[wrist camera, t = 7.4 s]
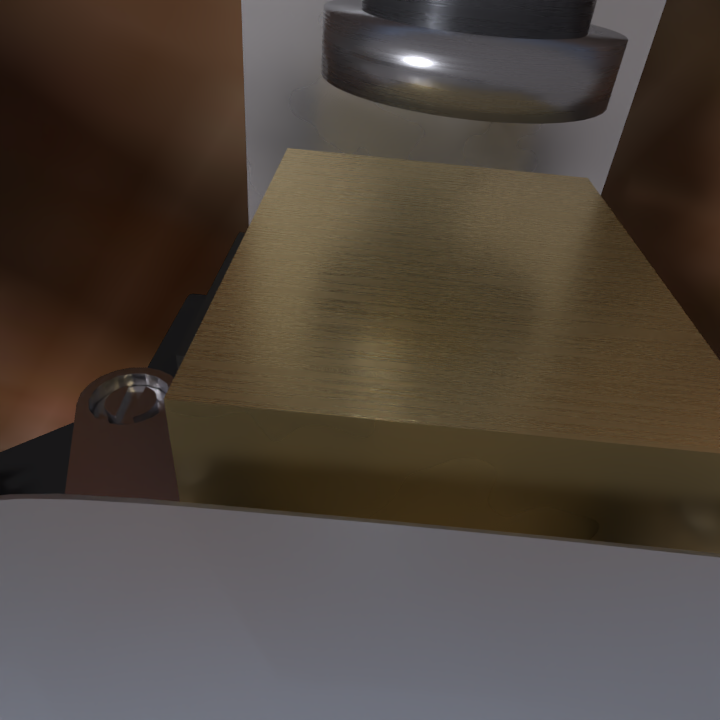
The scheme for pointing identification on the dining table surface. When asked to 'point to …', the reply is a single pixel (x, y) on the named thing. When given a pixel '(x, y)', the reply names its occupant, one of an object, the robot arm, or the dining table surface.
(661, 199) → the dining table surface
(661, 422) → the tan wooden cube
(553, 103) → the shaft bench
